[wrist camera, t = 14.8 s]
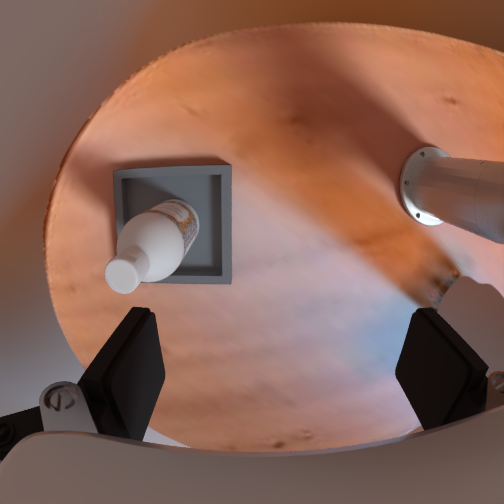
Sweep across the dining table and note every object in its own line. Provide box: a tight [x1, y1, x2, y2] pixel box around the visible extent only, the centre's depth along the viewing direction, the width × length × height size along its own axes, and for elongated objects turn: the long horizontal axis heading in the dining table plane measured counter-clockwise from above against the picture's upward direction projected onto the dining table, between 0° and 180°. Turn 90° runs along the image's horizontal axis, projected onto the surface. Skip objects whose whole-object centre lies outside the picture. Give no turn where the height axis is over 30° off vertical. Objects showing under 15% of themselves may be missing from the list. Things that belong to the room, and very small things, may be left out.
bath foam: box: [105, 199, 199, 294], centre depth 30 cm, size 7×7×20 cm
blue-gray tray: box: [113, 165, 232, 284], centre depth 39 cm, size 16×16×2 cm
